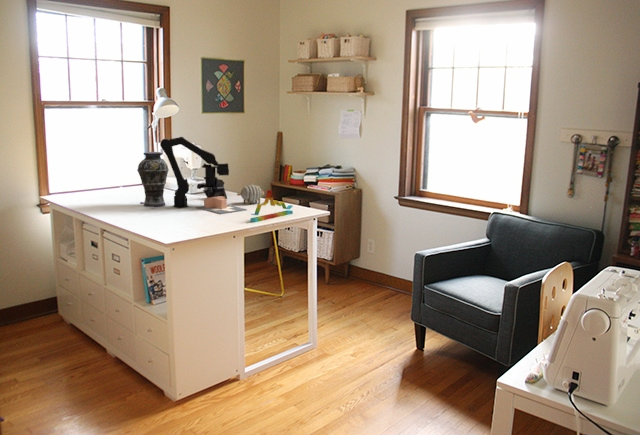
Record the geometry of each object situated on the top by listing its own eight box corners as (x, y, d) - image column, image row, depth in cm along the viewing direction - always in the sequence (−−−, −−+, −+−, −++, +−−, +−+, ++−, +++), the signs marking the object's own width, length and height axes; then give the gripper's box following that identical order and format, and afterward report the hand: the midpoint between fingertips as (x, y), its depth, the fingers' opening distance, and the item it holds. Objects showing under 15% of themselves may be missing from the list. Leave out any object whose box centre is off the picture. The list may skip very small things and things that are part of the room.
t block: (215, 209, 330) (215, 200, 329) (204, 207, 337) (203, 198, 336) (232, 207, 339) (232, 198, 338) (221, 204, 346) (221, 196, 345)
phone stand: (215, 200, 362) (215, 180, 360) (209, 199, 366) (209, 179, 364) (227, 198, 369) (227, 179, 366) (221, 197, 373) (221, 178, 370)
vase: (132, 206, 338) (130, 152, 332) (153, 201, 353) (152, 150, 347) (154, 209, 331) (152, 154, 325) (175, 204, 346) (174, 152, 340)
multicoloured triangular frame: (288, 213, 330) (288, 186, 327) (292, 214, 328) (293, 187, 325) (250, 221, 306) (250, 192, 303) (254, 222, 304) (254, 193, 301)
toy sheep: (267, 203, 355) (267, 185, 353) (241, 206, 346) (241, 187, 344) (259, 200, 364) (259, 182, 362) (234, 203, 355) (233, 184, 352)
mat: (220, 214, 322) (220, 213, 322) (196, 207, 337) (196, 206, 337) (247, 210, 334) (247, 209, 334) (222, 204, 350) (222, 203, 350)
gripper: (232, 176, 339) (232, 203, 342) (212, 172, 351) (212, 198, 355) (215, 177, 331) (216, 205, 334) (196, 174, 343) (196, 200, 347)
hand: (210, 202), depth 343 cm, fingers closed
